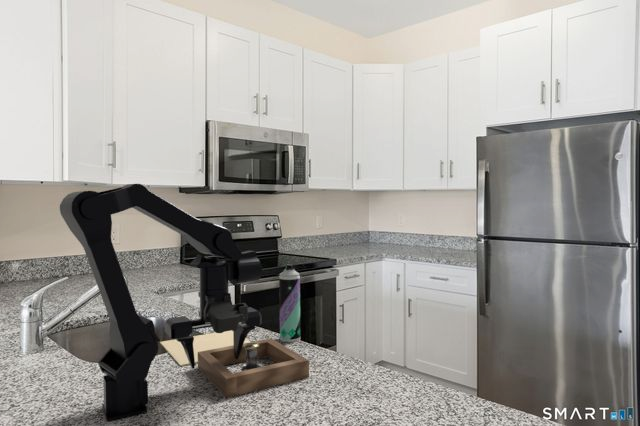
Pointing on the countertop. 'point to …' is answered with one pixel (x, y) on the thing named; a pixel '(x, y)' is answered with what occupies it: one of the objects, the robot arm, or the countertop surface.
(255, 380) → the walnut frame
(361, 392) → the countertop surface
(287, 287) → the spray can
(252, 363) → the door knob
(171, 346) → the cork mat
